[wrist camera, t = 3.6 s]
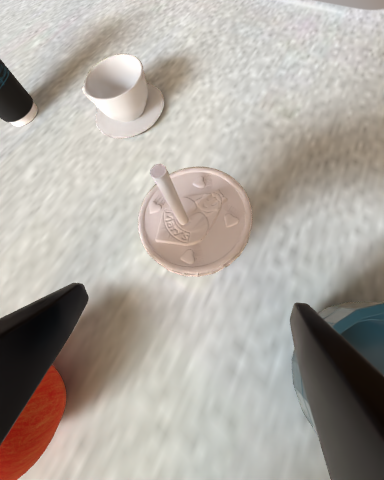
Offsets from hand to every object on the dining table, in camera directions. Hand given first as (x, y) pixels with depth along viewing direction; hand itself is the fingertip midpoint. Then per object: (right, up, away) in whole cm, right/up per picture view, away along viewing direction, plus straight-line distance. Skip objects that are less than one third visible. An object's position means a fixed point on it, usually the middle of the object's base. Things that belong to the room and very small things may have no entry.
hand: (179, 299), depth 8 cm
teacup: (-8, +20, +19) cm, 29 cm away
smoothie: (+2, +1, +12) cm, 12 cm away
